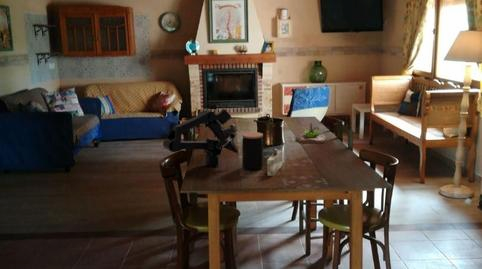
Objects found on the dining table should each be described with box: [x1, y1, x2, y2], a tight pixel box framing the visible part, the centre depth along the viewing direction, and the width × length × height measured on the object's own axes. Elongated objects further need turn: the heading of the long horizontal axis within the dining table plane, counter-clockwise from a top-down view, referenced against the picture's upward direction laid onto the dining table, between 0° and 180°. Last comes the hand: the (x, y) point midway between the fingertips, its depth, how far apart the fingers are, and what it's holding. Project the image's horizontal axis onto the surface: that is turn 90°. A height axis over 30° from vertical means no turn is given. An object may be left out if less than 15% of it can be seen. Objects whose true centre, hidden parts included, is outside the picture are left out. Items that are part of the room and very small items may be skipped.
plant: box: [295, 122, 328, 145], centre depth 303 cm, size 20×20×11 cm
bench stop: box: [266, 148, 284, 177], centre depth 238 cm, size 3×20×11 cm, turn 162°
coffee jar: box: [241, 131, 264, 172], centre depth 241 cm, size 11×11×18 cm
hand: (237, 152), depth 244 cm, fingers closed
